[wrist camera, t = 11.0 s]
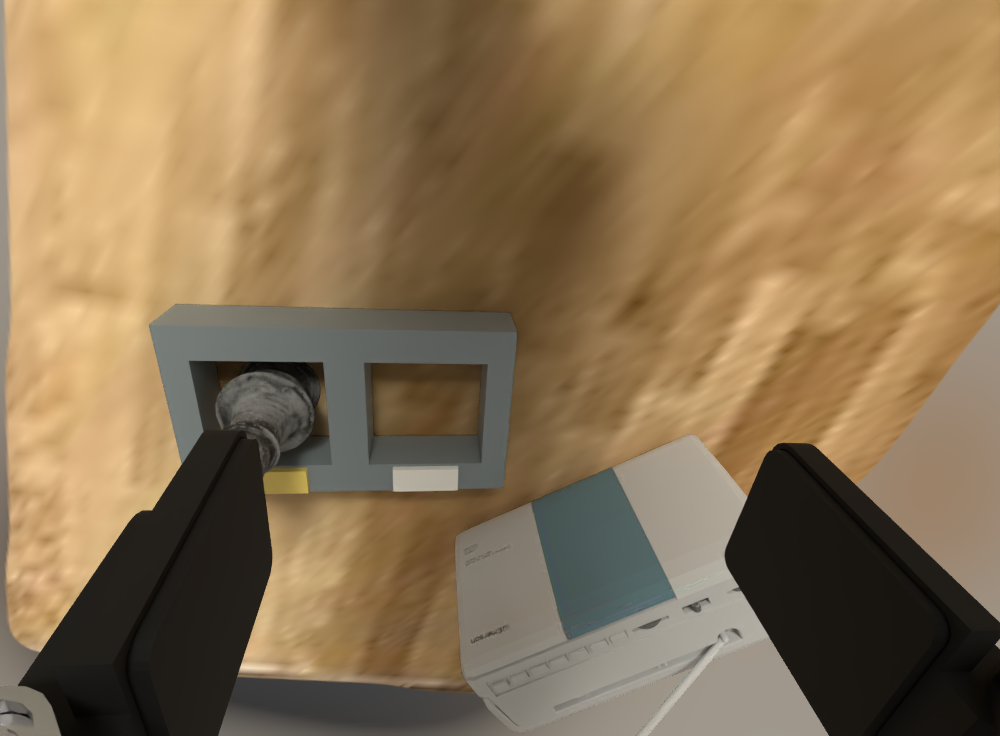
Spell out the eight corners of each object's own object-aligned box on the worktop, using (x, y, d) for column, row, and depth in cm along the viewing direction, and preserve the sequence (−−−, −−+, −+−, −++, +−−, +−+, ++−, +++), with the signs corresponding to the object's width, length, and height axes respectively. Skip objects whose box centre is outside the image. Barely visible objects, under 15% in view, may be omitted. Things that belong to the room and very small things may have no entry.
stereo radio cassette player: (688, 418, 41) (881, 654, 24) (712, 491, 45) (895, 742, 27) (448, 522, 43) (459, 813, 25) (490, 583, 47) (525, 876, 29)
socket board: (175, 304, 33) (145, 327, 29) (509, 312, 36) (518, 334, 32) (208, 462, 38) (186, 498, 35) (498, 458, 41) (504, 491, 37)
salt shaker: (331, 359, 36) (288, 467, 25) (317, 430, 38) (273, 558, 27) (238, 339, 34) (151, 444, 24) (230, 415, 37) (148, 542, 26)
